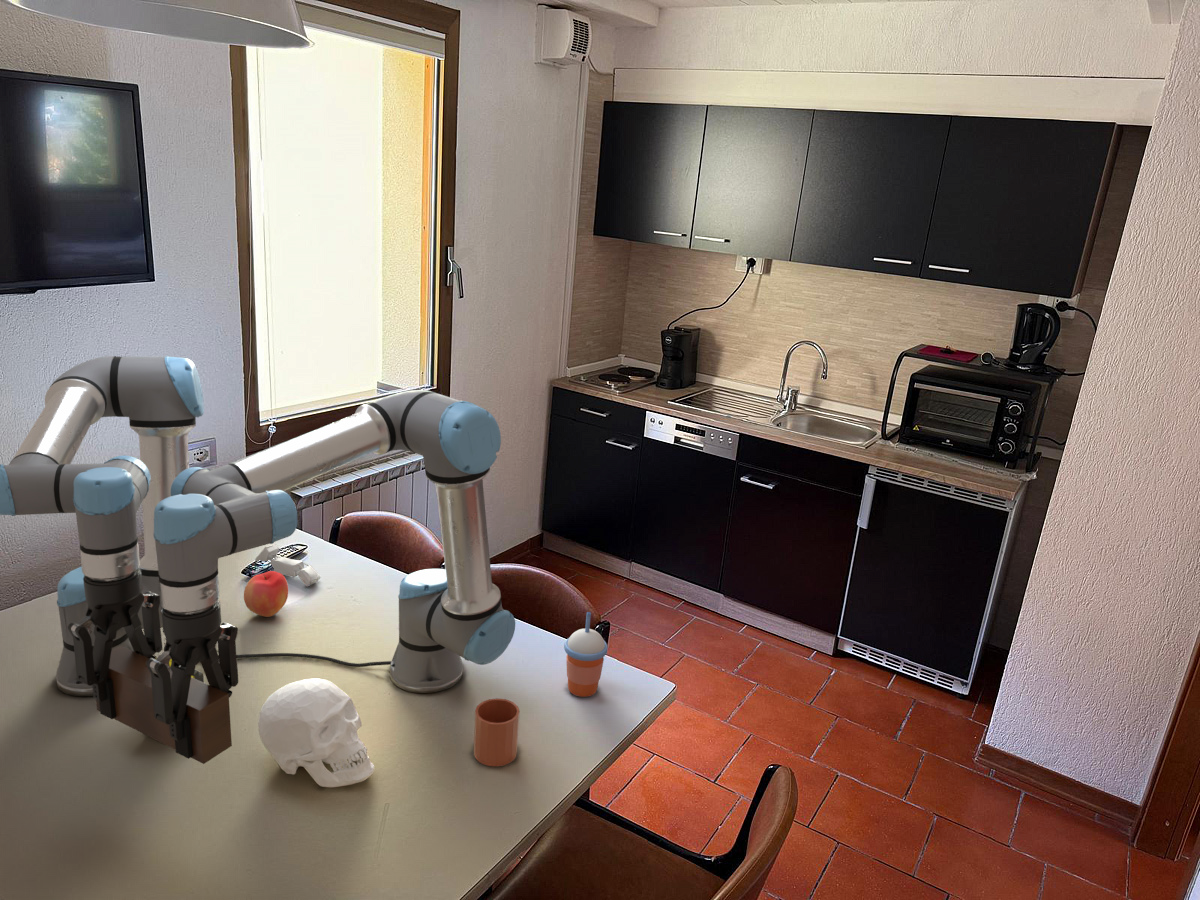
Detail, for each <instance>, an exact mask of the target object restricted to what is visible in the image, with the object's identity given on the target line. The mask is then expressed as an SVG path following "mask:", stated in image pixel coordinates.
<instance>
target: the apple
mask: <svg viewBox="0 0 1200 900" xmlns="http://www.w3.org/2000/svg"><path fill="white" fill-rule="evenodd" d="M288 597H289V584H288V581H287V579H286V577H285V575H282V574H281V573H278V572H275V571H268V570H267V571H266V572H264V573H259V574H255V575H254V576H253V577H251V578H250V579H249V580H248V582H247V583H246V585H245V587H244V590H243V601H244V604H245V607H247V609H248V610H249V611H250V612H252V613H253V614H255V615H257V616H261V617H265V618H269V617H273V616H275V615H276V614H278V613H279V612H280V611H281V610H282V609H283V607H284V606H285V605H286V603H287V600H288Z"/></svg>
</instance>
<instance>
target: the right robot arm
mask: <svg viewBox="0 0 1200 900" xmlns="http://www.w3.org/2000/svg"><path fill="white" fill-rule="evenodd" d="M501 436H502V435H501V430H500V426H499V424H498V421H497V419H496V418H495V417H494V416H493V414H492V413H491V412H489V411H488V410H487V409H485V408H483V407H481V406H479V405H477V404H475V403H473V402H470V401H467V400H459V399H456V398H453V397H450V396H447V395H443V394H440V393H437V392H435V391H431V390H427V389H414V390H413V389H412V390H407V391H401V392H397V393H394V394H389V395H387V396H383V397H381V398H377V399H375V400H372V401H370V402H367V403H364V404H361V405H360V406H358V407H357V408H356V410H355V413H354V414H352V415H349V416H346V417H344V418H341V419H339V420H336V421H334V422H332V423H329V424H327V425H324V426H321V427H319V428H316V429H314V430H311V431H309V432H306V433H304V434H300V435H299V436H296V437H293V438H291V439H289V440H288V439H287V440H286V441H283V442H280V443H278V444H276V445H272V446H271V447H268V448H265V449H263V450H260V451H258V452H256V453H253V454H250V455H248V456H244V457H243V458H240V459H238V460H234V461H232V462H230V463H227V464H225V465H222V466H219V467H217V468H214V469H209V468H207V467H200V466H193V467H192V466H191V467H189V468H188V469H186V470H184V471H182V472H181V473H180V474H179V475H178V476H177V477H176V478H175V480H174V481H173V483H172V486H171V497H168V498H165V499H163V500H162V501H160V502H159V503H158V504H157V506H156V507H155V510H154V534H153V535H154V539H155V544H156V553H157V562H158V572H159V592H160V604H161V606H162V610H161V614H162V625H163V628H162V632H163V634H164V637H165V643H164V647H163V652H161V654H160V655H158V657H156V659H153V658H150V659H148V660H147V662H146V666H147V668H148V669H149V671H150V673H151V681H152V694H153V707H154V718H155V719H157V720H159V721H161V722H163V723H165V724H167V725H169V729H170V736H171V738H173V739H175V747H176V750H175V753H176V754H178V755H180V756H182V757H184V758H186V759H188V760H189V759H192V758H191V757H192V756H193V749H192V736H191V723H190V717H187V716H185V712H186V706H187V700H188V693H189V687H190V681H191V676H192V675H193V674H194V672H195V670H196V666H197V665H199V663H200V665H201V668H202V669H203V674H204V675H205V678H206V681H207V684H208V685H210V686H212V687H214V688H216V689H219V690H221V691H223V692H225V693H228V694H229V698H231V697H232V695H233V691H232V690H231V688H235V687H237V685H238V684H239V672H238V659H247V658H248V659H249V658H251V659H252V658H275V657H276V658H277V657H280V658H281V657H284V658H285V657H287V658H289V657H290V658H305V659H315V660H319V661H320V660H321V661H328V662H331V663H335V664H338V665H342V666H346V667H352V668H364V667H372V666H373V667H374V666H389V679H390V681H391V682H392V683H393V684H394V685H395V686H396V687H398V688H399V689H401V690H404V691H407V692H410V693H416V694H430V693H431V694H432V693H438V692H441V691H445V690H447V689H450V688H451V687H453V686H455V685H456V684H457V683H458V682H459V681H460V680H461V679H462V676H463V672H464V664H463V660H462V658H463V659H464V660H465V661H469V662H472V663H473V664H475V665H480V666H484V665H489V664H490V663H493V662H494V661H496V660H497V659H498V658H500V656H502V654H504V652H505V651H506V650H507V648H508V647H509V645H510V644H511V642H512V639H513V637H514V636H515V631H516V618H515V617H514V615H513V613H511V612H510V610H508V609H505V608H503V606H502V594H501V590H500V588H499V586H497V584H494V583H493V579H492V569H491V558H490V546H489V535H488V523H487V513H486V502H485V493H484V481H483V479H485V478H486V477H487V476H488V474H489V473H490V470H491V467H492V466H493V464H494V463H495V462H496V460H497V458H498V456H497V453H499V452H500V449H501V443H502V439H501V438H502V437H501ZM392 451H408V452H412V453H413V454H416V455H419V456H422V458H423V464H424V471H425V472H424V473H425V477H426V479H427V480H428V481H429V482H431V483H433V484H434V485H435V492H436V500H437V501H436V502H437V509H438V518H439V519H438V520H439V527H440V537H441V544H442V554H443V562H444V568H424V569H420V570H417V571H413V572H410V573H409V574H407V575H405V576H404V577H403V578H402V579H401V581H400V583H399V594H398V595H397V597H398V643H397V645H396V648H395V651H394V653H393V656H392V659H391V660H386V661H370V662H369V661H368V662H362V663H361V662H360V663H357V662H348V661H345V660H344V661H343V660H340V659H336V658H334V657H329V656H323V655H316V654H308V653H295V652H294V653H293V652H291V653H290V652H270V653H269V652H268V653H245V654H244V653H243V654H237V643H236V641H237V637H238V633H239V632H238V631H239V627H237V626H235V625H232V624H230V623H227V622H226V621H225V622H224V621H223V622H222V611H221V601H220V600H219V599H220V579H219V559H221V558H225V557H228V556H231V555H234V554H237V553H241V552H244V551H249V550H252V549H256V548H259V547H263V546H267V545H274V543H276V542H278V541H281V540H283V539H287V538H289V537H291V536H292V535H293V534H294V533H295V531H296V530H297V526H298V522H299V521H298V510H297V507H296V504H295V502H294V500H293V498H292V497H291V495H290V494H289V493H288V492H287V490H290V489H292V488H294V487H296V486H300V485H301V484H304V483H306V482H308V481H311V480H313V479H315V478H318V477H319V476H322V475H325V474H327V473H329V472H331V471H334V470H336V469H338V468H341V467H343V466H346V465H348V464H350V463H353V462H355V461H357V460H359V459H361V458H364V457H366V456H369V455H370V454H373V455H376V456H382V455H385V454H388V453H389V452H392ZM216 646H217V648H216ZM170 659H172V662H171V667H170V666H169V661H170ZM170 669H171V670H172V678H171V677H170V673H169V670H170Z"/></svg>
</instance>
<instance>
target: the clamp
mask: <svg viewBox="0 0 1200 900" xmlns="http://www.w3.org/2000/svg"><path fill="white" fill-rule="evenodd" d="M280 549H281V547H279V546H278V545H277V544H270V545H266V546H264V547H263V549H262V550H261V551H260V552H259V554H258V555H257V556H256V557H255V559H254V562H255V563H256V561H259V560H262V561H268V560H271V562H270V563H269V564H271V565H272V566H273V568H274V571H275V572H278V573H281V574H282V575H283V576H288V577H292V578H296V577H298V578H299V579H300V580H301V582H303V584H304V585H305V587H309V586H312V585H314V584H316V583H318V582H319V580H320V579H321V578H322V577H321V575H320V574H319V573H318V572H317V570H315V569H314V568H313V566H312V565H310V564H309V565H308V564H307V563H305V562H304V561H303V560H301V559H300V560H299V559H292V558H289V557H285V556H278V553H279V551H280ZM273 558H274V559H273ZM272 559H273V560H272ZM305 566H306V567H305ZM270 571H271V570H270Z"/></svg>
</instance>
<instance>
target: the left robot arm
mask: <svg viewBox="0 0 1200 900" xmlns="http://www.w3.org/2000/svg"><path fill="white" fill-rule="evenodd" d="M44 395H45V396H44V405H45V406H44V408H43V409H42V411H41V413H40V414H39V416H38V417H37V419H36V421H35V422H34V423H33V425H32V427H31V429H30V430H29V431H28V433H27V435H26V436H25V438H24V440H23V441H22V443H21V445H20V446H19V449H18V450H17V451H16V453H15V454H14V456H13V458H12V459H11V460H10V462H9V463H8V464H3V463H1V464H0V516H11V517H16V516H28V515H29V516H30V515H48V514H50V515H51V514H75V518H76V526H77V533H78V540H79V541H78V542H79V553H80V564H81V566H79V567H77V568H75V569H74V568H73V570H70V571H69V572H67V573H66V574H65V575H63V576H62V577H61V578H60V579H59V581H58V583H57V586H56V591H57V600H56V605H57V606H58V615H59V621H60V631H61V638H62V645H63V648H62V651H61V655H60V659H59V662H58V665H57V668H56V669H57V670H56V675H55V679H56V680H55V681H56V687H57V688H58V689H59V690H60V691H61V692H62V693H64V694H67V695H70V696H76V697H93V698H94V700H95V701H96V700H98V701H99V705H100V712H99V713H100V714H101V715H102V716H104V717H105V718H108V719H109V720H115V719H114V718H115V717H116V708H115V699H114V689H113V680H111V679H109V678H107V676H108V670H109V664H110V657H111V651H112V650H114V649H116V648H118V647H120V646H123V647H125V648H127V649H129V650H131V651H134V652H136V653H138V654H140V655H143V656H145V657H147V658H149V659H150V658H153V659H156V658H157V657H156V656H155V654H156V653H157V654H158V653H162V650H163V640H162V631H161V629H163V625H162V614H161V610H162V606H161V604H160V592H159V572H158V562H157V553H156V544H155V539H154V535H153V534H154V510H155V507H156V506H157V504H158V503H159V502H160V501H162V500H163V499H165V498H168V497H171V486H172V483H173V481H174V480H175V478H176V477H177V476H178V475H179V474H180V473H181V472H182V471H184V470H186V469H188V468H190V457H189V456H190V455H189V433H190V432H191V431H192V430H193V429H194V428H195V427H196V425H197V420H196V419H197V418H200V417H202V416H203V415H204V413H205V406H204V405H205V404H204V394H203V387H202V382H201V378H200V375H199V372H198V369H197V367H196V365H195V363H194V361H192V360H191V359H189V358H186V357H177V356H169V355H166V356H117V355H106V356H99V357H95V358H92V359H89V360H88V359H87V360H86V361H83V362H80V363H78V364H77V365H75V366H73V367H71V368H69V369H67V370H66V371H65V372H63V373H61V375H59V376H58V377H57V378H56V379H55V380H54V381H53V382H52V383H51V385H50V386H49V388H48V389H47V391H46V392H45V394H44ZM115 417H118V418H128V420H129V421H128V423H129V428H130V429H131V430H133V431H134V432H135V433H136V434H137V435H138V443H139V458H137V457H134V456H131V455H117V456H114V457H111V458H109V459H108V460H106V461H104V463H72V462H73V460H74V459H75V457H76V455H77V452H78V451H79V448H80V447H81V445H82V443H83V441H84V439H85V437H86V435H87V433H88V431H89V430H90V428H91V426H92V425H94V424H96V423H97V422H99V421H100V419H102V418H115ZM141 505H142V507H141V508H142V524H143V525H142V526H143V546H144V554H143V556H142V557H141V558H140V547H139V538H138V525H137V524H138V523H137V513H138V511H139V509H140V506H141Z"/></svg>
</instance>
